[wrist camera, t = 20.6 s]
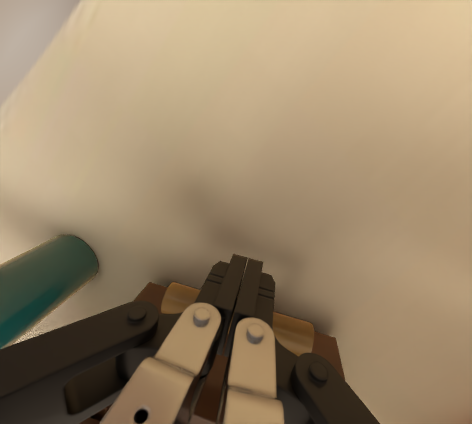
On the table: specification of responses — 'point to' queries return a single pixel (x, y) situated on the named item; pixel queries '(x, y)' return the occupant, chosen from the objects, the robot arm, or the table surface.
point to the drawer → (284, 327)
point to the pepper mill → (41, 283)
